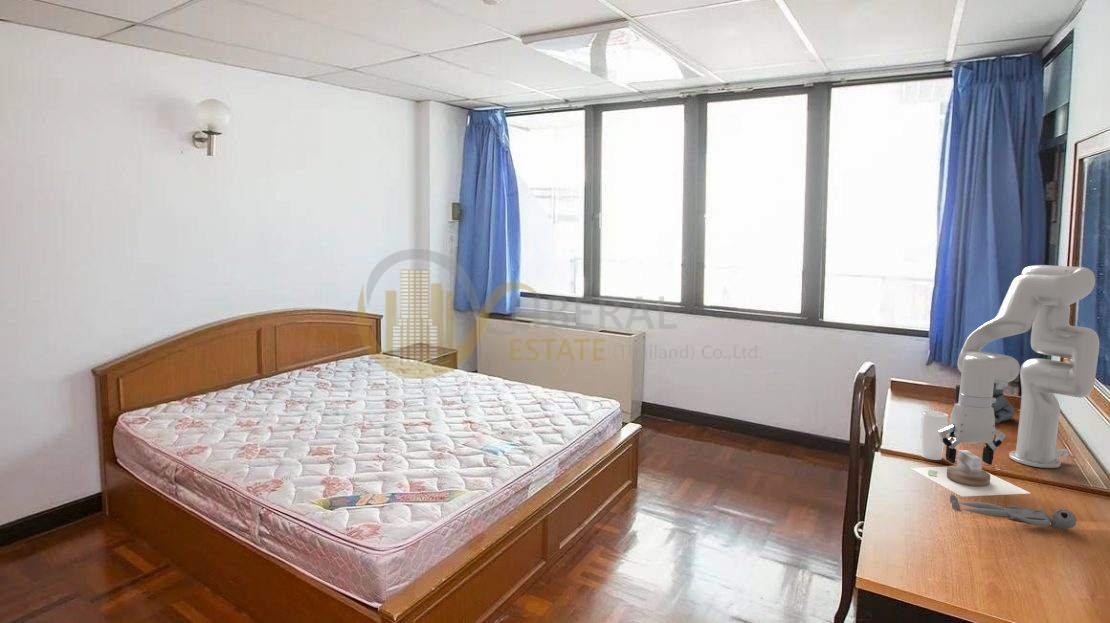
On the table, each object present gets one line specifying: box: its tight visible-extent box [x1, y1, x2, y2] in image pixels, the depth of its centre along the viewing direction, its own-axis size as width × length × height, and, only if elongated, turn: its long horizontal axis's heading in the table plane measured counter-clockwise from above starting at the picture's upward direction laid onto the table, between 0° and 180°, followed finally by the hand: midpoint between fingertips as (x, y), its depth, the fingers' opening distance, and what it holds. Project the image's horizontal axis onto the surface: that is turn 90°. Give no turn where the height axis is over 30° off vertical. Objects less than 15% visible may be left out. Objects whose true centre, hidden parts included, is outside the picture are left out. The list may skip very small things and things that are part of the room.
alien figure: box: [949, 494, 1077, 530], centre depth 155 cm, size 8×5×25 cm
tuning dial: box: [946, 449, 991, 486], centre depth 177 cm, size 14×10×7 cm
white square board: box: [909, 465, 1032, 498], centre depth 176 cm, size 20×20×2 cm
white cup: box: [920, 410, 949, 461], centre depth 193 cm, size 7×7×15 cm
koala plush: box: [952, 382, 1015, 424], centre depth 240 cm, size 17×18×20 cm
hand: (968, 462), depth 175 cm, fingers open, 9 cm apart
